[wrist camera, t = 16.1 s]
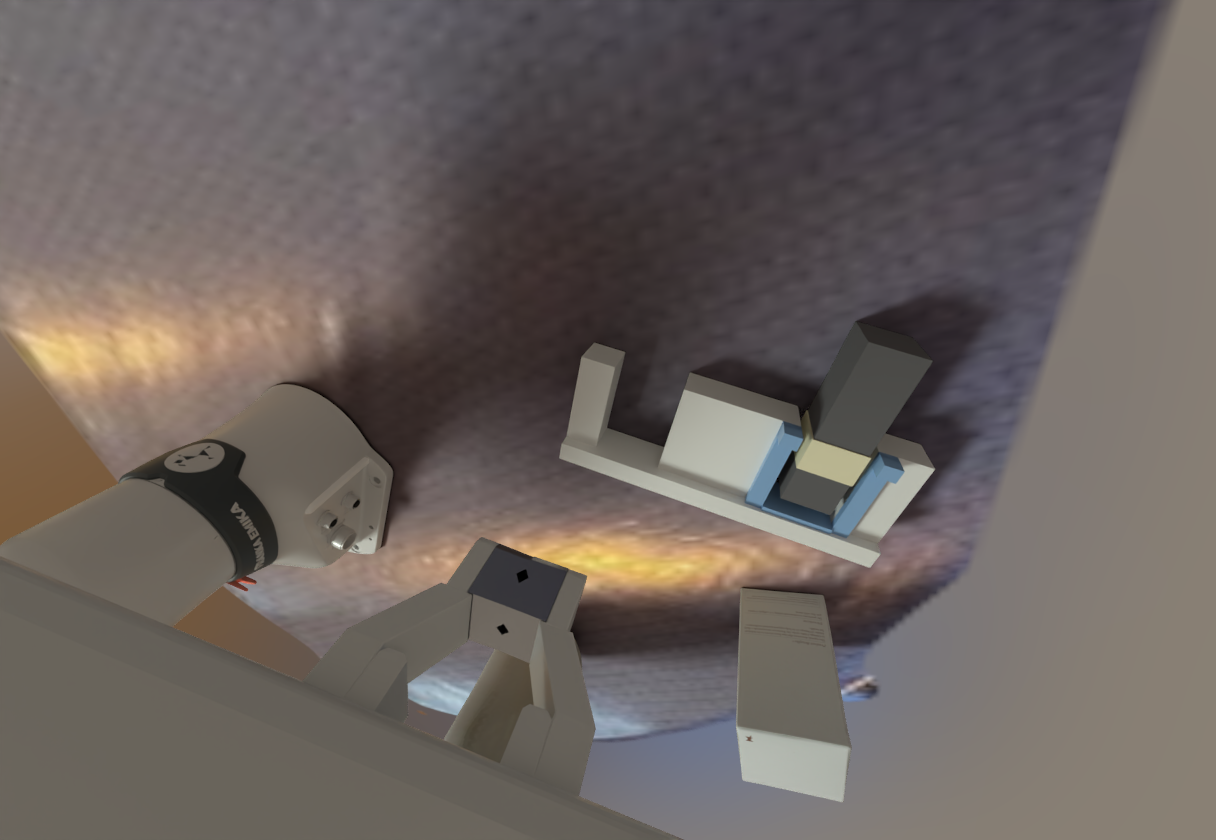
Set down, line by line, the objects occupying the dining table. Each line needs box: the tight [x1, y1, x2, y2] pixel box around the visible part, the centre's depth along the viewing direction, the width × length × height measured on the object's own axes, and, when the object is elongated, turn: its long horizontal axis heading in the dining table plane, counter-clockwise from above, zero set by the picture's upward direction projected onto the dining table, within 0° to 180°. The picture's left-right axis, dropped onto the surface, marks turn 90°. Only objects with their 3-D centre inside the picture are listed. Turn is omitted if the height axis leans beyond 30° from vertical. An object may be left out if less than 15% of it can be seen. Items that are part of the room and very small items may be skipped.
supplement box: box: [736, 588, 852, 802], centre depth 37 cm, size 7×7×13 cm
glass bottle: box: [444, 639, 582, 763], centre depth 42 cm, size 10×10×28 cm
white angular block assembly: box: [559, 343, 935, 568], centre depth 33 cm, size 8×24×5 cm, turn 78°
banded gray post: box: [779, 321, 933, 515], centre depth 30 cm, size 12×4×4 cm, turn 168°
